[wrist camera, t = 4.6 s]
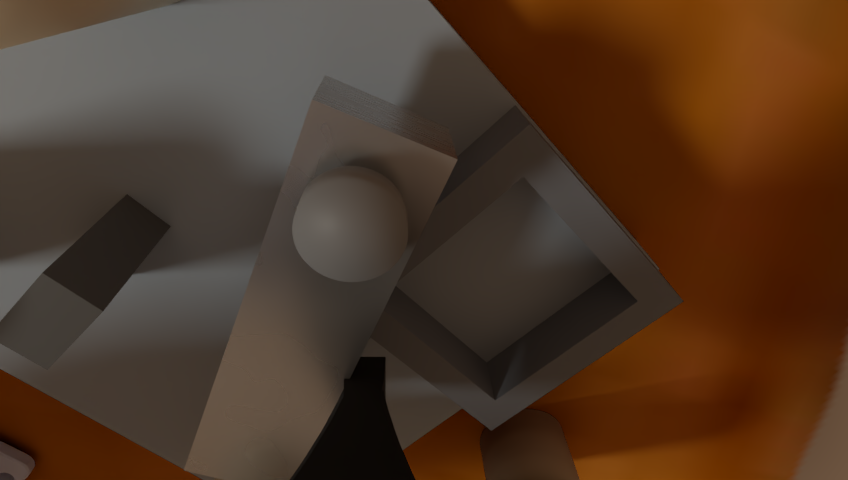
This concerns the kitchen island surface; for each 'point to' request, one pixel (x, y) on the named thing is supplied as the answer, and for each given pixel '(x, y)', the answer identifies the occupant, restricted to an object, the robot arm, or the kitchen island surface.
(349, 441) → the robot arm
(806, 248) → the kitchen island surface
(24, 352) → the board
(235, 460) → the bar
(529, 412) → the leg peg
